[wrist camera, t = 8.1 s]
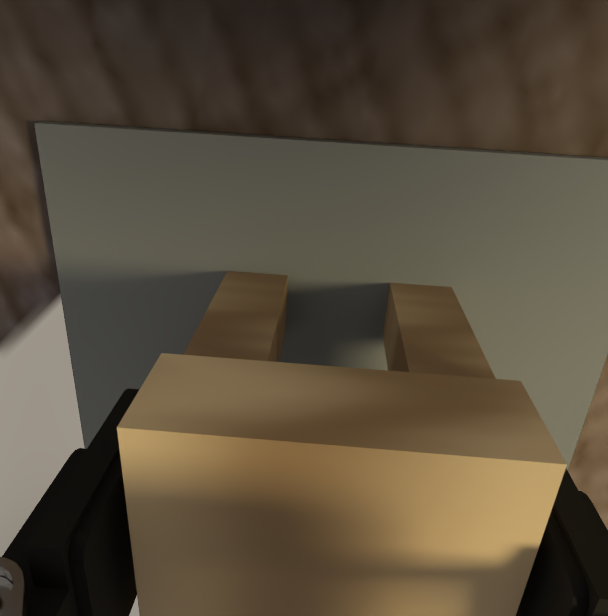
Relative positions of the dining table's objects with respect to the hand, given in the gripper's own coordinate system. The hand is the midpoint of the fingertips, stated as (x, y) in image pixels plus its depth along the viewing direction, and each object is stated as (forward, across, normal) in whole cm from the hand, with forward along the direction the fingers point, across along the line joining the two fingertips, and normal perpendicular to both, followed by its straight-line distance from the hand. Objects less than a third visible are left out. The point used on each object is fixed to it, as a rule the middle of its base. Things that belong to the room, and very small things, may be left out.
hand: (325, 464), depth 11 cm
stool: (+4, 0, 0) cm, 4 cm away
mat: (+4, 0, 0) cm, 4 cm away
